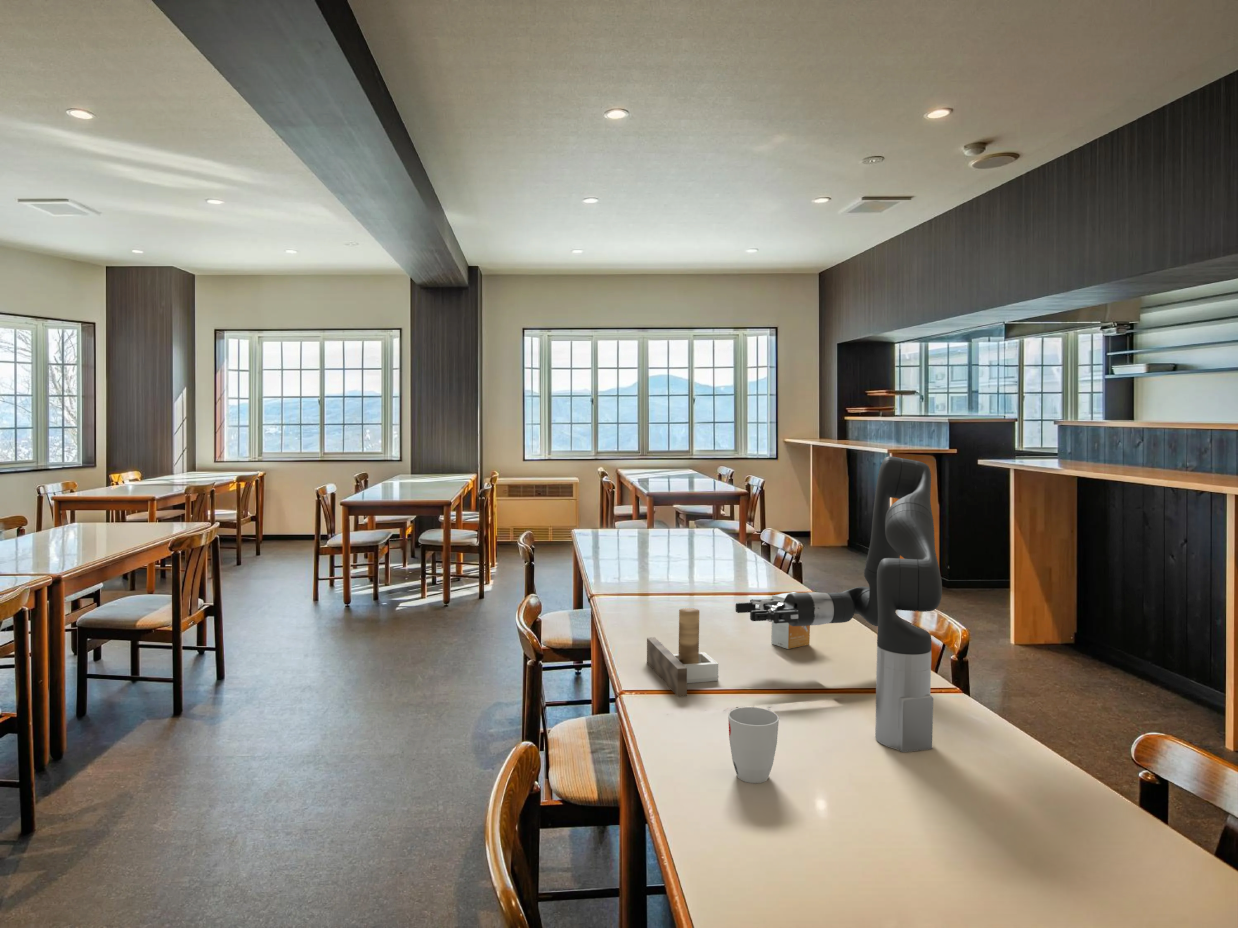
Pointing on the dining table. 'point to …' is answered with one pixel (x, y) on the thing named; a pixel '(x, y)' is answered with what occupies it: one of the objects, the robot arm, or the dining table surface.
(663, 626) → the dining table surface
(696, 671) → the white square tray
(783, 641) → the small box
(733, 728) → the cup
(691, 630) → the oak dowel
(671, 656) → the board
